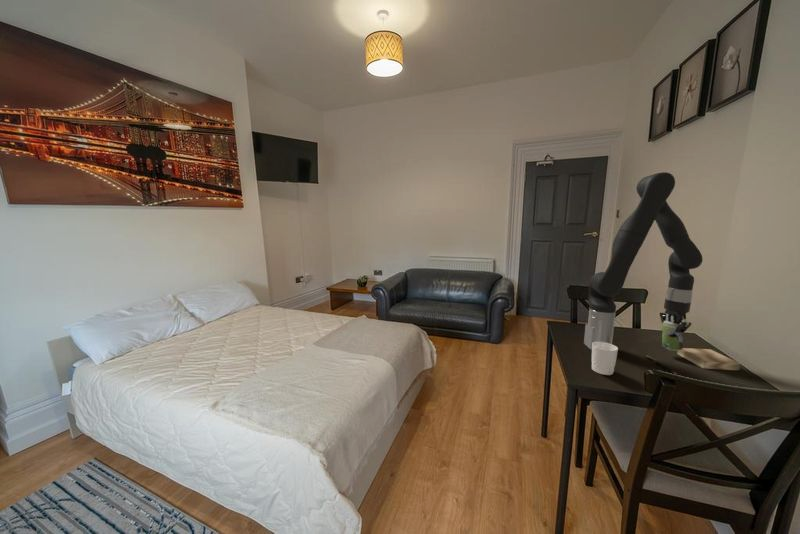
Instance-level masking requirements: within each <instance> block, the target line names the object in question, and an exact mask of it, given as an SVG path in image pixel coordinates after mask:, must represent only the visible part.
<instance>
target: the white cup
mask: <svg viewBox="0 0 800 534" xmlns="http://www.w3.org/2000/svg"><path fill="white" fill-rule="evenodd" d="M618 352H619V348H618V346H616V345H614V344H613V343H612V344H609V343H605V342H593V343H592V349H591V370H592V371H594V372H595V373H597V374H600V375H603V376H611V375H613V374H614V371H615V366H616V362H617V357H618Z"/></svg>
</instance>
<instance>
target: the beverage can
mask: <svg viewBox="0 0 800 534" xmlns="http://www.w3.org/2000/svg"><path fill="white" fill-rule="evenodd" d="M679 325H680V324H672V323H671V322H670V321H666V320H665V321H664V322H663V323H662V322H661V343H662V347H664V348H665V349H666V350H669V351H675V352H678V350H681V349H682V348H684V346H683V333H676V331H675V330H676V328H677V327H678V326H679Z"/></svg>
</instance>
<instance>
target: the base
mask: <svg viewBox="0 0 800 534" xmlns="http://www.w3.org/2000/svg"><path fill="white" fill-rule="evenodd" d="M676 353H677V355H679V356H680V357H682V358H684V359H686V360H688V361H689V362H691V363H692V364H694V365H695V366H697V367H700V368H701V369H709V370H710V369H711V370H725V371H726V370H727V371H740V368H741V363H740V362H739V361H736V360H734V359H731V357H727V356H725V355H723V354H721V353H719V352H717V351H715V350H714V349H709V348H708V349H707V348H691V347H690V348H686V347H683V348H682V349H681V350H678V351H676Z"/></svg>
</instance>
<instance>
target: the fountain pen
mask: <svg viewBox="0 0 800 534" xmlns="http://www.w3.org/2000/svg"><path fill="white" fill-rule="evenodd" d="M644 358H646V359H647V360H648V361H649V362H651V363H653V364H655V365H657V366H659V367H661V368H662V369H665V370H666V371H668V372H670V373H672V374H676V375H678V373H677V372H675V371H674V370H673V369H671V368H669V367H667V366H666V365H664V364H663V363H661V362H659V361H657V359H655V358H653V357H651V356H649V355H645V356H644Z"/></svg>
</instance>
